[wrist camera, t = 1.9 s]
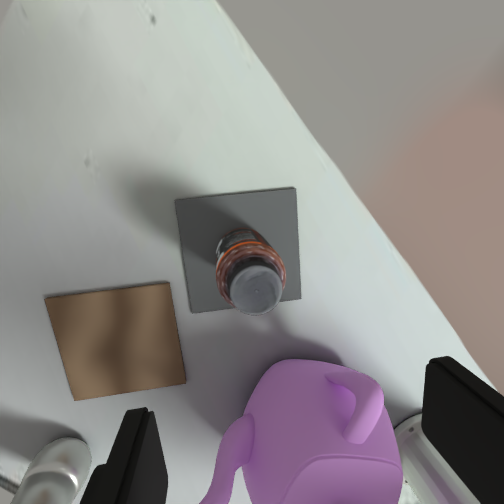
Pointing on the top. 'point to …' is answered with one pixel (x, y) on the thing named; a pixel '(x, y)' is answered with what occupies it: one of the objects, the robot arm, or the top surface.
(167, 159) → the top surface
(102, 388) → the walnut board
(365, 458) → the teapot
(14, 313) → the top surface
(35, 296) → the top surface
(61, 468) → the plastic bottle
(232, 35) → the top surface
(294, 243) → the dot mat
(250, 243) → the supplement bottle
